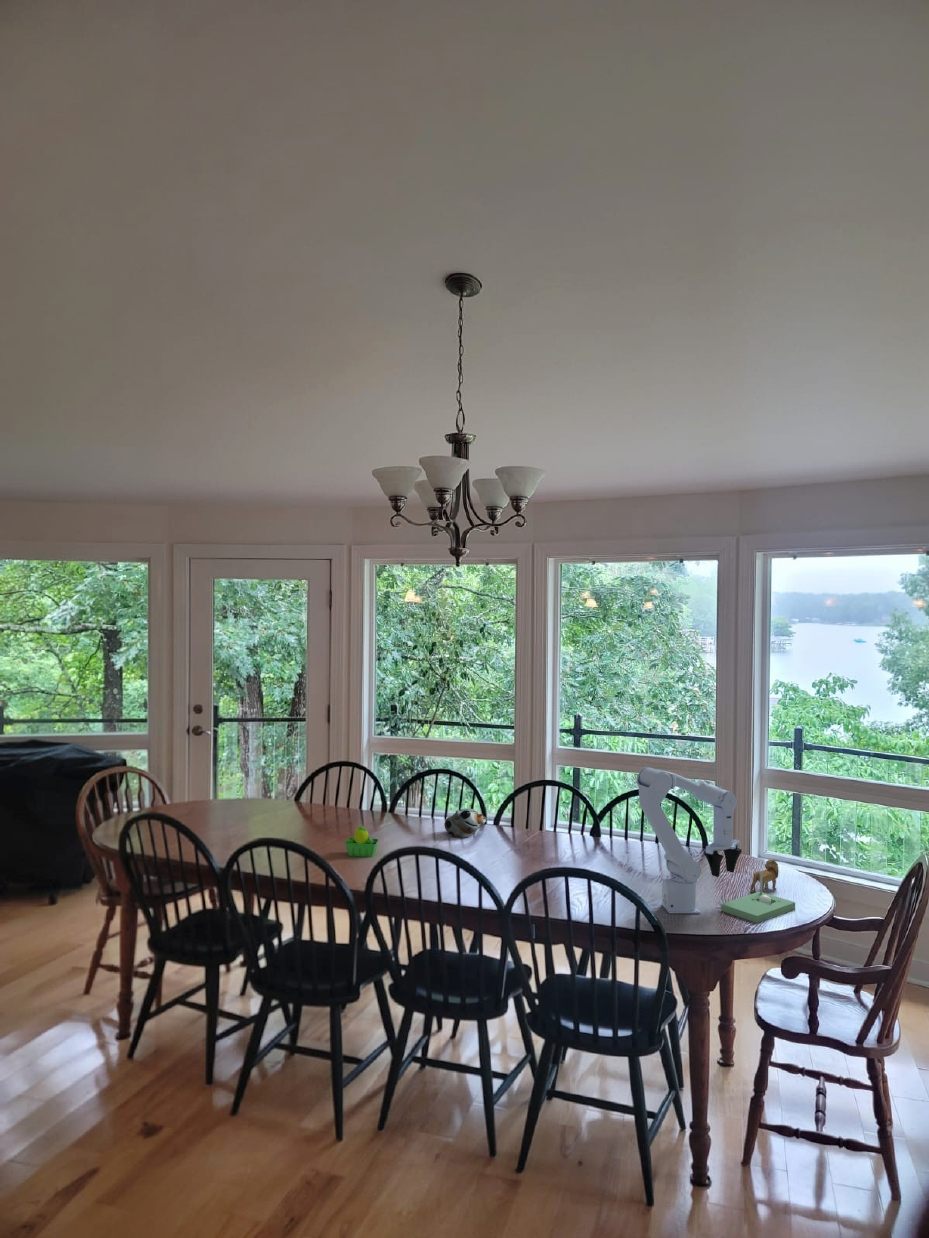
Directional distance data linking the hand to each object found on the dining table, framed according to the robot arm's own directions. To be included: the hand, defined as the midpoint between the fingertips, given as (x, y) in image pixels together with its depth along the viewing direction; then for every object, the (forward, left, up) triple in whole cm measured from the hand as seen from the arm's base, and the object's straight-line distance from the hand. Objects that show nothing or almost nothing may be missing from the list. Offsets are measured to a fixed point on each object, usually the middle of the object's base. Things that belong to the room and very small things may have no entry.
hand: (722, 873), depth 237 cm
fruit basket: (-116, +52, -10) cm, 127 cm away
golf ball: (+12, -2, -8) cm, 15 cm away
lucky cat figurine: (-76, +81, -10) cm, 112 cm away
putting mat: (+9, -4, -9) cm, 14 cm away
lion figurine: (+19, +14, -10) cm, 25 cm away
